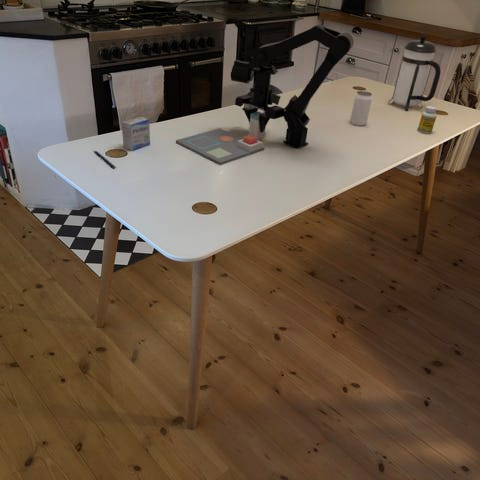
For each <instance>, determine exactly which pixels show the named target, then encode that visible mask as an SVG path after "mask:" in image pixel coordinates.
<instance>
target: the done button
mask: <svg viewBox="0 0 480 480" xmlns="http://www.w3.org/2000/svg"><path fill="white" fill-rule="evenodd" d="M257 140H258V139H257V138H256V137H253V136H251V135H249V134H248V135H246V136H243V142H245V143H247V144H249V145H251V144H254V143H257Z"/></svg>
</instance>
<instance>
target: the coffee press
mask: <svg viewBox="0 0 480 480" xmlns="http://www.w3.org/2000/svg"><path fill="white" fill-rule="evenodd" d="M426 39H427V35H426V34H421V36H420V39H412V40H409V41H408V42H407V43H406V44H405V45H404V50H403V51H404V52H403V55H402V57H401V62H400V67H399V70H398V73H397V78H396V81H395V82H396V83H395V86H394V91H393V94H392V96H391V98H390V99H389V101H388V105H390V106H391V105H393V104H397V105H399V106H404V111H405V112H408V111H409V108H410V107H411V108H412V107H413V108H414V107H418V108H419V109H420V110H421V109H423V107H424V106H423V104H422V101H423V102H428V101H431V100H432V99H433V97H434V96H435V94H436V91H437V88H438V84H439V81H440V76H441V66H440V64H439V63H438V62H437V61H434V56H435V53H436V52H437V48H436V45H435V44H434V43H433V42H431V41H429V40H426ZM432 67H433V68H434V70H435V72H434V73H435V74H434V78H433V81H432V85H431V88H430V91H429V94H428V95H427V96H424V94H425V89H426V86H427V84H428V79H429V76H430V73H431V69H432ZM390 102H391V103H390ZM420 104H421V106H419V105H420Z"/></svg>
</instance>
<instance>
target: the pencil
mask: <svg viewBox="0 0 480 480" xmlns="http://www.w3.org/2000/svg"><path fill="white" fill-rule="evenodd" d="M93 152H94V154H95V153H96V154H97V155H96V154H95V155H96V156H98V158H100V157H101V158H102V159H103V160H104V163H106V164H107V165H108V166H109V167H110V166H111V169H113V170H115V168H116V169H117V167H116V166H115V165H114V164H112V162H110V161H109V160H108V159H107V158H106V157H105V156H104V155H102V154H101V153H100V152H99V151H97V150H93ZM101 158H100V159H101ZM102 159H101V160H102ZM103 160H102V161H103Z"/></svg>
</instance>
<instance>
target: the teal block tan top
mask: <svg viewBox="0 0 480 480" xmlns="http://www.w3.org/2000/svg"><path fill="white" fill-rule="evenodd" d="M261 114H263V112H260V111H259V110H258V111H257V112H254V113H251V116H250V123H249V131H248V136H249V135H251V136H253V137H256V138H257V140H259V139H261V138H264V137H265V136H266V127H267V126H266V127H265V129H264V131H263V132H262V133H261V132H260V124H259V115H261Z"/></svg>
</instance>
